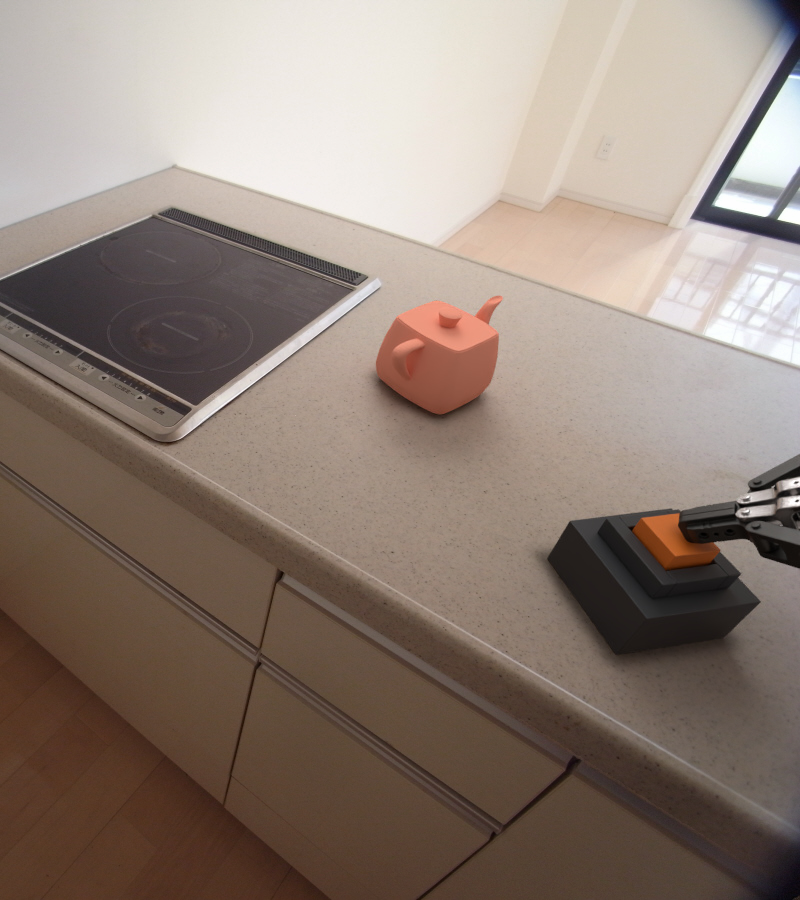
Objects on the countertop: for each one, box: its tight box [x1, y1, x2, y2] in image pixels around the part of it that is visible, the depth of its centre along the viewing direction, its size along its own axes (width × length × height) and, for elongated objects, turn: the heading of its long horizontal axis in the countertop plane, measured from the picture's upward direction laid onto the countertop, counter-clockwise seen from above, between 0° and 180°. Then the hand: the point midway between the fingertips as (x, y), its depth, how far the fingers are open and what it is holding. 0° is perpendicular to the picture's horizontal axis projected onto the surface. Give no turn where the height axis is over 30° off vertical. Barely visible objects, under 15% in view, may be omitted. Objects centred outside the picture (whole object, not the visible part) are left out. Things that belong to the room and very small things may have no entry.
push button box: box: [547, 507, 762, 656], centre depth 54 cm, size 10×10×7 cm
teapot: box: [375, 295, 504, 415], centre depth 76 cm, size 12×18×10 cm, turn 125°
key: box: [632, 513, 722, 571], centre depth 52 cm, size 4×4×2 cm
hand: (682, 527), depth 50 cm, fingers closed
